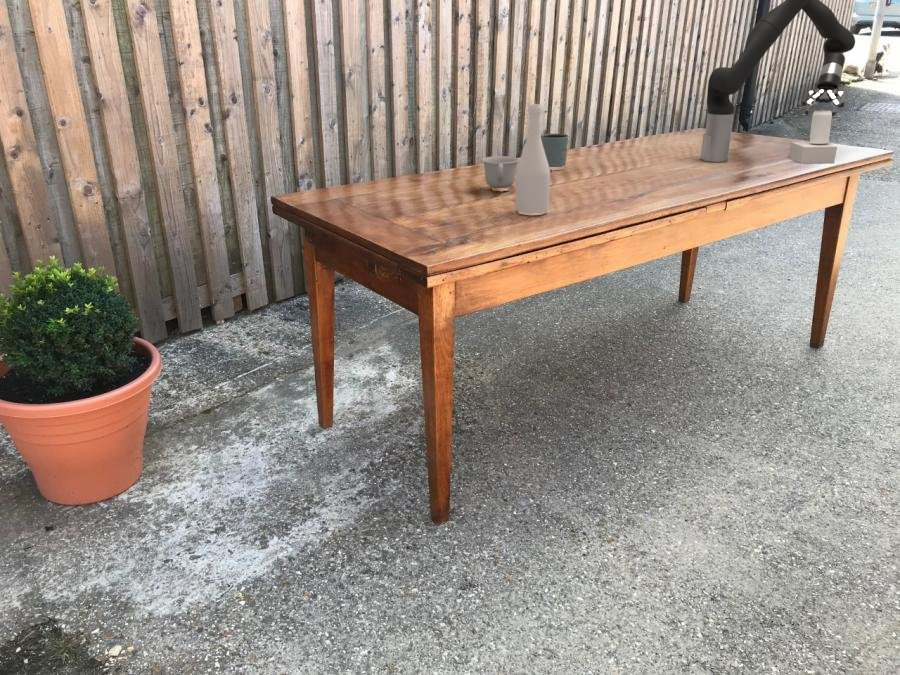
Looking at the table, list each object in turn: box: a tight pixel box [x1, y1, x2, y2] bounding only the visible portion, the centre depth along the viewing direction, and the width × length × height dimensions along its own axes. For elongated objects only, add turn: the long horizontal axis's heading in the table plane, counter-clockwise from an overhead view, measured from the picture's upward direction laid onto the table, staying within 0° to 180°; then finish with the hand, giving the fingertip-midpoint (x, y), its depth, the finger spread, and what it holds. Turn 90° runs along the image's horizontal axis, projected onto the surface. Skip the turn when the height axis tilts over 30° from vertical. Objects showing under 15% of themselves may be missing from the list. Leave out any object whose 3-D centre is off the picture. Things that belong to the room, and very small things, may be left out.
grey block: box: [787, 140, 838, 165], centre depth 271 cm, size 12×12×6 cm
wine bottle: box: [515, 103, 551, 213], centre depth 202 cm, size 10×10×30 cm
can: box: [809, 108, 833, 144], centre depth 267 cm, size 6×6×12 cm
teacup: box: [481, 155, 520, 188], centre depth 232 cm, size 12×15×10 cm
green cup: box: [540, 133, 569, 167], centre depth 264 cm, size 10×10×12 cm
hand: (819, 114), depth 266 cm, fingers open, 8 cm apart
